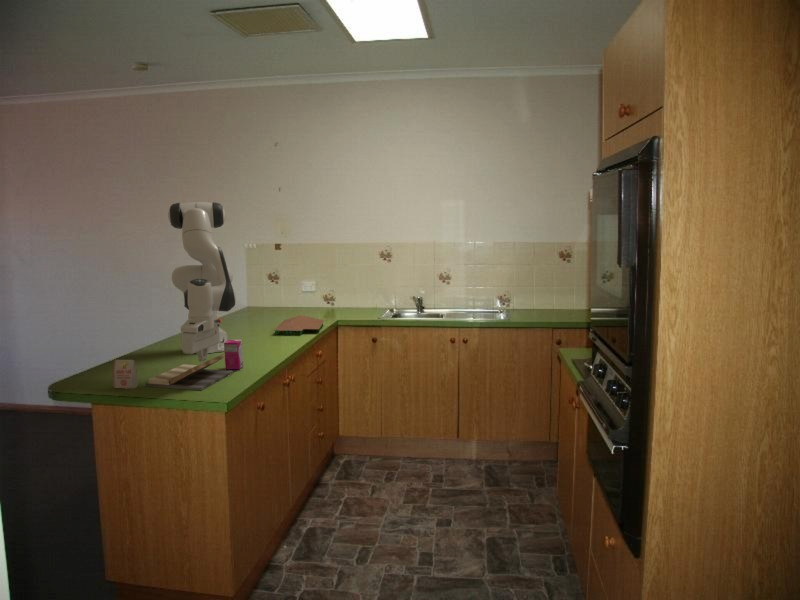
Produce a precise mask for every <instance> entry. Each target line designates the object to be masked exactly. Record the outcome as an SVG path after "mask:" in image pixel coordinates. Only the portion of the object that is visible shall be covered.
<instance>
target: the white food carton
mask: <svg viewBox="0 0 800 600" xmlns="http://www.w3.org/2000/svg"><path fill="white" fill-rule="evenodd" d="M112 379H113V380H112V382H113V383H112V384H113V389H114V388H125V389H124V390H131V389H132V390H133V389H135V388H137V387H138V386H139V385H138V384H139V382H138V381H139V379H138V369H137V366H136V362H135V359H114V360H113V369H112Z"/></svg>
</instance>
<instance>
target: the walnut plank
mask: <svg viewBox="0 0 800 600" xmlns="http://www.w3.org/2000/svg"><path fill="white" fill-rule="evenodd" d="M223 359H225V355H224V354H223V353H222V354H219V355H217V356H216V357H214V358H210V359H209V360H208V359H207V360H205V362H204V361H203V362H202V363H200V364H196V365H197V366H195V367H193V368H191V369H189V370H187V371H186V372H184V373H182V374H180V375H178V376H177V377H175V378H173V379H171V380H170V382H171V384H173V383H175V382H177V381H179V380H182V379H184V378H186V377H188V376H190V375H192V374H194V373H196V372H198V371H201V370H203V369H208V367H210V366H212V365H214V364H216V363H217V362H219V361H221V360H223Z"/></svg>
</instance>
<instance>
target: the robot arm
mask: <svg viewBox="0 0 800 600" xmlns="http://www.w3.org/2000/svg"><path fill="white" fill-rule="evenodd" d="M167 213H168V214H167V217H168V221H169V223H170V226H172V227H173V228H174V229H178V230H181V233H182V234H181V235H182V236H181V237H182V239H181V240H182V245H183V248H184V250H185V252H186V253H187V254H188V256H189V257H190V258H191V259H193V260H194V261H196V262H197V261H198V262H199V263H200V264H194V265H192V264H189V265H187V264H186V265H182V266H177V267H175V268H174V269H173V271H172V273H171V281H172V284H173V286H174V287H175V288H176V289H178V290H180V291H181V292H182V293H183V298H184V299H183V300H184V305H183V306H184V307H185V308H186V309H187V310H188V314H187V320H186V321H185V322H184V323H183V324H182V325H180V332H181V333H182V334H181V350H182V352H183V354H187V355H193V354H196V355H197V357H198V362H204V361H207V360H208V354H212V353H222V352H225V351H224V343H225V342H226V341H228V340H229V339H228V338H229V337H228V333H227V332H226V331H225V330H224V329H222V327H220V324H222V322H223V321H222V318H218V316H217V313H218V312H228V313H229V312H230V311H231V310H232V309H233V308H234V307H235V306H236V301H237V300H236V299H237V297H236V292H235V290H234V287H233V286H232V282H233V279H234V278H233V272H232V270H231V269H230V268H229V267H228V266H227V261H226V258H225V256H224V252H223V250H222V248H221V247H220V246H218V245H216V242H215V241H214V233H213V228H214V229H217V228H221V227H222V226H223V225H224V224H225V221H226V211H225V209H224V205H222V204H221V203H219V202H209V201H195V202H194V201H191V202H181V203H180V202H175V203H172V204H171V205H170V206H169V209H168V212H167Z"/></svg>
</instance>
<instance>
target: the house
mask: <svg viewBox="0 0 800 600" xmlns="http://www.w3.org/2000/svg"><path fill="white" fill-rule="evenodd" d="M324 322H325V320H324V319H319V318H316V317H310V316H306V315H302V314H301V315H298V316H293V317H290V318H287V319H283V321H281V323H279V325H277V326H276V327H275V328H274V329H273V331H274V335H275V336H277V334H279V333H280V332H285V336H287V335H289V336H293V335H292V334H293V332H295V334H298V335H299V336H302V335H303V333H304V332H305V331H309V330H317V333H319V332H320V331H321V330H322V328H323V326H324Z"/></svg>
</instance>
